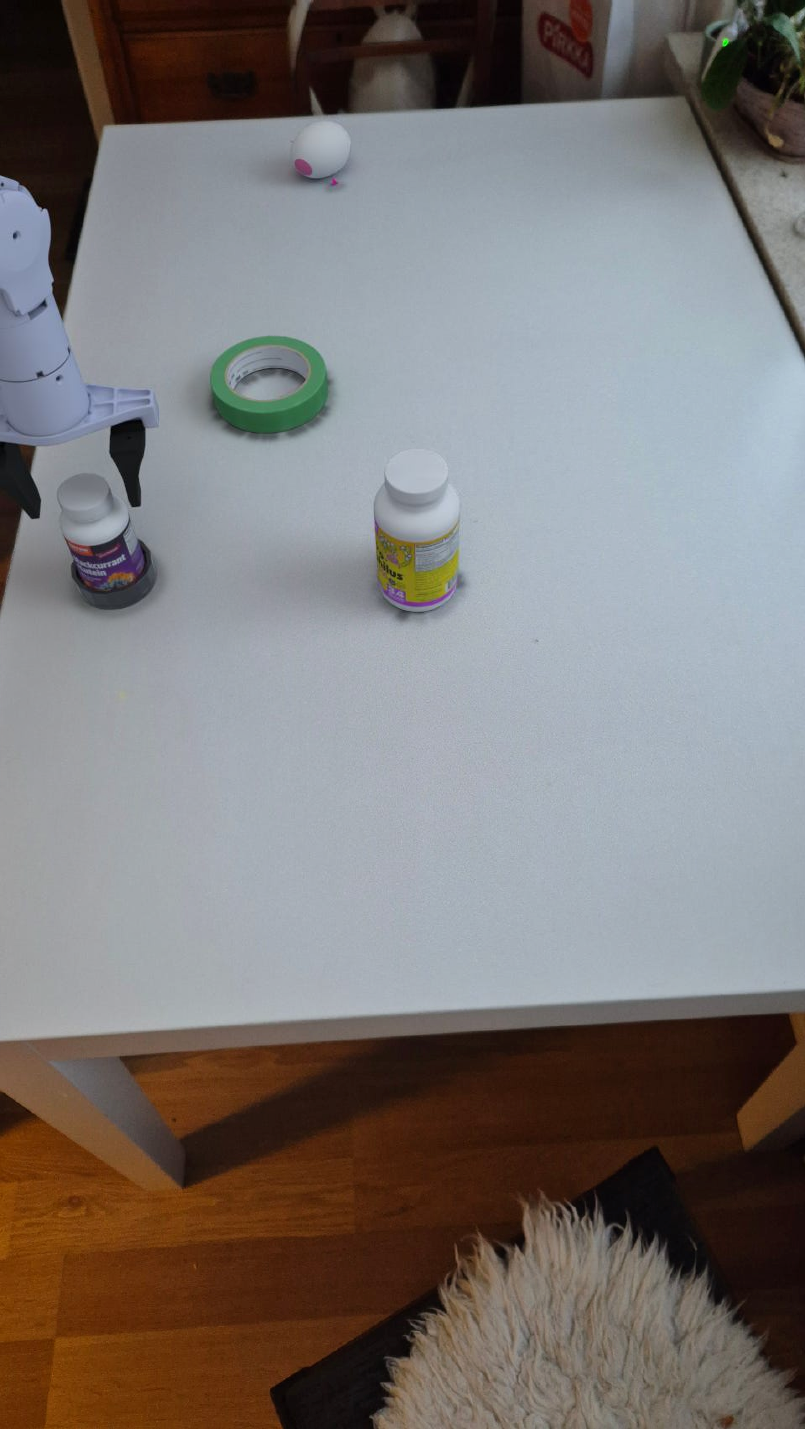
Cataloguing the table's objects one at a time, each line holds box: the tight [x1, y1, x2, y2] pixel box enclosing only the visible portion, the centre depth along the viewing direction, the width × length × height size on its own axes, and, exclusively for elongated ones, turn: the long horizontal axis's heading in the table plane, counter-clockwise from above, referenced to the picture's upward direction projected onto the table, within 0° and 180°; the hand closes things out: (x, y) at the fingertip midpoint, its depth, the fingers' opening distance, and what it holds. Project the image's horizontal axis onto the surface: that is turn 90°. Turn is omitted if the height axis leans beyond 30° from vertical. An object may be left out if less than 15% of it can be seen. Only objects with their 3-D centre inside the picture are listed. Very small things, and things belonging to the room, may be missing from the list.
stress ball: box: [289, 120, 352, 186], centre depth 118 cm, size 8×8×7 cm
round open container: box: [70, 538, 157, 610], centre depth 85 cm, size 7×7×2 cm
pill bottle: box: [56, 472, 146, 591], centre depth 81 cm, size 5×5×10 cm
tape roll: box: [209, 335, 329, 434], centre depth 97 cm, size 11×11×3 cm
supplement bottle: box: [373, 448, 461, 613], centre depth 79 cm, size 7×7×13 cm
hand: (86, 504), depth 78 cm, fingers open, 7 cm apart
